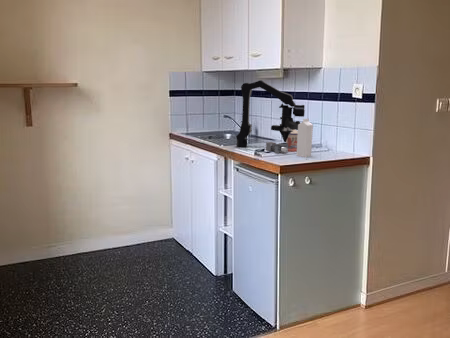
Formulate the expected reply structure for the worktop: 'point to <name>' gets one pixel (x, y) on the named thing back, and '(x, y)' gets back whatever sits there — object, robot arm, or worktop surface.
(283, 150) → the grey rod with block
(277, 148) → the eye post
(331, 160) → the worktop surface
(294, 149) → the handwheel
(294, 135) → the teacup with lid
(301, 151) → the milk
